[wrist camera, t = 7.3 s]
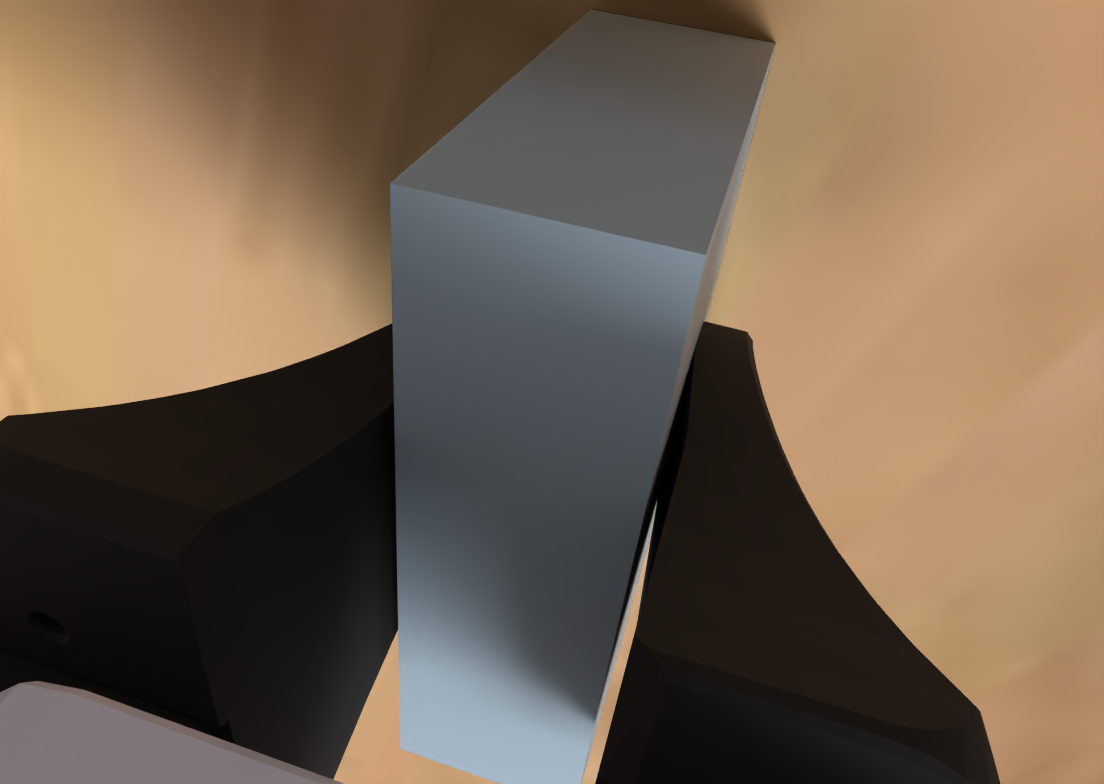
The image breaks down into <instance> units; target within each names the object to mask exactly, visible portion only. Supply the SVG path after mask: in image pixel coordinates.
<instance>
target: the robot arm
mask: <svg viewBox="0 0 1104 784" xmlns="http://www.w3.org/2000/svg"><path fill="white" fill-rule="evenodd" d="M397 630H398V589H397V535H396V482H395V429H394V376H393V323H392V324H390V325H388V326H386V327H383V328H381V329H379V330H377V331H375V332H372V333H370V334H368V335H366V336H364V337H361V338H359V339H357V340H355V341H353V342H350V343H348V344H346V345H344V346H341V347H339V348H336V349H334V350H331V351H329V352H326V353H323V354H321V355H318V356H315V357H313V358H310V359H307V360H304V361H301V362H298V363H295V364H292V365H289V366H286V367H283V368H280V369H277V370H274V371H271V372H267V373H263V374H260V375H256V376H252V377H248V378H244V379H240V380H236V381H233V382H229V383H225V384H221V385H217V386H213V387H210V388H206V389H201V390H197V391H192V392H187V393H182V394H177V395H172V396H166V397H161V398H155V399H149V400H143V401H137V402H131V403H125V404H118V405H110V406H103V407H95V408H85V409H75V410H65V411H56V412H46V413H36V414H25V415H12V416H7V417H5V418H4V419H3V420H1V421H0V784H344V783H341V782H338V781H335V780H333V779H334V777H335V774H336V771H337V769H338V767H339V764H340V762H341V760H342V757H343V755H344V752H345V750H346V748H347V745H348V743H349V740H350V738H351V736H352V733H353V731H354V729H355V726H356V724H357V721H358V719H359V717H360V714H361V712H362V709H363V707H364V705H365V702H366V700H367V698H368V695H369V693H370V691H371V689H372V686H373V684H374V682H375V680H376V677H377V675H378V673H379V671H380V668H381V666H382V664H383V662H384V659H385V657H386V655H387V652H388V650H389V648H390V646H391V643H392V641H393V639H394V637H395V635H396V633H397ZM595 784H1000V781H999V777H998V773H997V769H996V766H995V762H994V758H993V754H992V751H991V747H990V744H989V740H988V737H987V733H986V730H985V726H984V723H983V719H982V716H981V713H980V711H979V709H978V708H977V707H976V706H975V705H974V704H973V703H972V702H971V701H970V700H969V699H968V698H967V697H966V696H965V695H964V694H963V693H962V692H961V691H960V690H959V689H958V688H957V687H956V686H955V685H954V684H953V683H952V682H950V681H949V680H948V679H947V678H946V677H945V676H944V675H943V674H942V673H941V672H940V671H939V670H938V669H937V668H936V667H935V666H934V665H933V664H932V663H931V662H930V661H929V660H928V659H927V658H926V657H925V656H924V655H923V654H922V653H921V652H920V651H919V650H918V649H917V648H916V647H915V646H914V645H913V644H912V643H911V641H910V640H909V639H908V638H907V637H906V636H905V635H904V634H903V633H902V631H901V630H900V629H899V628H898V627H897V626H896V624H895V623H894V622H893V621H892V620H891V619H890V618H889V616H888V615H887V614H886V613H885V612H884V611H883V610H882V608H881V607H880V606H879V605H878V604H877V603H876V601H875V600H874V599H873V598H872V596H871V595H870V594H869V593H868V591H867V590H866V589H865V587H864V586H863V585H862V583H861V582H860V581H859V579H858V578H857V577H856V575H855V574H854V572H853V571H852V570H851V568H850V567H849V566H848V564H847V563H846V562H845V560H844V559H843V558H842V556H841V555H840V553H839V552H838V551H837V549H836V548H835V546H834V545H833V543H832V541H831V540H830V538H829V537H828V535H827V533H826V532H825V530H824V529H823V527H822V526H821V524H820V522H819V520H818V519H817V517H816V515H815V513H814V512H813V510H812V508H811V506H810V505H809V503H808V501H807V499H806V497H805V495H804V494H803V492H802V490H801V488H800V486H799V484H798V482H797V480H796V478H795V476H794V474H793V471H792V469H791V467H790V465H789V462H788V460H787V458H786V456H785V453H784V451H783V449H782V446H781V444H780V441H779V439H778V436H777V434H776V431H775V428H774V425H773V422H772V420H771V417H770V414H769V411H768V408H767V405H766V402H765V399H764V396H763V392H762V389H761V385H760V381H759V377H758V373H757V369H756V364H755V359H754V352H753V341H752V339H751V337H750V336H749V334H748V333H747V332H746V331H742V330H738V329H734V328H729V327H725V326H721V325H717V324H713V323H709V322H705V321H703V324H702V327H701V330H700V333H699V336H698V340H697V343H696V346H695V349H694V354H693V358H692V362H691V366H690V370H689V374H688V378H687V382H686V386H685V390H684V394H683V398H682V402H681V406H680V410H679V414H678V418H677V422H676V426H675V430H674V434H673V438H672V442H671V446H670V450H669V454H668V459H667V463H666V467H665V471H664V475H663V479H662V483H661V487H660V491H659V495H658V499H657V504H656V511H655V517H654V523H653V529H652V535H651V541H650V547H649V554H648V560H647V566H646V572H645V578H644V584H643V591H642V597H641V603H640V609H639V615H638V621H637V626H636V630H635V634H634V638H633V642H632V646H631V649H630V653H629V657H628V661H627V665H626V668H625V672H624V676H623V680H622V684H621V688H620V691H619V695H618V699H617V703H616V707H615V711H614V714H613V718H612V722H611V726H610V730H609V734H608V737H607V741H606V745H605V749H604V753H603V757H602V760H601V764H600V768H599V772H598V776H597V779H596V783H595Z"/></svg>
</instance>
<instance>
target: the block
mask: <svg viewBox="0 0 1104 784" xmlns="http://www.w3.org/2000/svg"><path fill="white" fill-rule="evenodd" d="M775 44H776V43H772V42H767V41H761V40H756V39H750V38H745V37H739V36H734V35H729V34H723V33H718V32H712V31H707V30H701V29H696V28H690V27H685V26H679V25H674V24H668V23H663V22H657V21H652V20H646V19H641V18H635V17H630V16H624V15H619V14H613V13H608V12H602V11H597V10H589V11H588V12H587V13H586V14H585V15H584V16H583V17H581V18H580V19H579V20H578V21H577V22H576V23H574V24H573V25H572V26H571V27H570V28H569V29H567V30H566V31H565V32H564V33H563V34H562V35H561V36H559V37H558V38H557V39H556V40H555V41H554V42H552V43H551V44H550V45H549V46H548V47H547V48H546V49H544V50H543V51H542V52H541V53H540V54H539V55H537V56H536V57H535V58H534V59H533V60H532V61H531V62H529V63H528V64H527V65H526V66H525V67H524V68H522V69H521V70H520V71H519V72H518V73H517V74H515V75H514V76H513V77H512V78H511V79H510V80H509V81H507V82H506V83H505V84H504V85H503V86H502V87H500V88H499V89H498V90H497V91H496V92H495V93H494V94H492V95H491V96H490V97H489V98H488V99H487V100H485V101H484V102H483V103H482V104H481V105H480V106H478V107H477V108H476V109H475V110H474V111H473V112H472V113H470V114H469V115H468V116H467V117H466V118H465V119H463V120H462V121H461V122H460V123H459V124H458V125H457V126H455V127H454V128H453V129H452V130H451V131H450V132H448V133H447V134H446V135H445V136H444V137H443V138H442V139H440V140H439V141H438V142H437V143H436V144H435V145H433V146H432V147H431V148H430V149H429V150H428V151H426V152H425V153H424V154H423V155H422V156H421V157H420V158H418V159H417V160H416V161H415V162H414V163H413V164H411V165H410V166H409V167H408V168H407V169H406V170H405V171H403V172H402V173H401V174H400V175H399V176H398V177H396V178H395V179H394V180H393V181H392V182H391V183H390V216H391V269H392V322H393V376H394V429H395V482H396V535H397V589H398V642H399V695H400V749H402V750H405V751H408V752H411V753H413V754H416V755H419V756H422V757H425V758H428V759H431V760H434V761H436V762H439V763H442V764H445V765H448V766H451V767H454V768H456V769H459V770H462V771H465V772H468V773H471V774H474V775H477V776H479V777H482V778H485V779H488V780H491V781H494V782H497V783H499V784H581V783H582V780H583V776H584V773H585V769H586V766H587V762H588V758H589V755H590V751H591V748H592V744H593V741H594V737H595V734H596V730H597V726H598V723H599V719H600V716H601V712H602V709H603V705H604V701H605V698H606V694H607V691H608V687H609V684H610V680H611V676H612V673H613V669H614V666H615V662H616V659H617V655H618V651H619V648H620V644H621V641H622V637H623V634H624V630H625V626H626V623H627V619H628V616H629V612H630V609H631V605H632V602H633V598H634V594H635V591H636V587H637V584H638V580H639V577H640V573H641V569H642V566H643V562H644V559H645V555H646V552H647V548H648V544H649V541H650V537H651V534H652V529H653V523H654V517H655V511H656V504H657V499H658V495H659V491H660V487H661V483H662V479H663V475H664V471H665V467H666V463H667V459H668V454H669V450H670V446H671V442H672V438H673V434H674V430H675V426H676V422H677V418H678V414H679V410H680V406H681V402H682V398H683V394H684V390H685V386H686V382H687V378H688V374H689V370H690V366H691V362H692V358H693V354H694V349H695V346H696V343H697V340H698V336H699V333H700V330H701V327H702V324H703V321H705V322H706V319H707V315H708V311H709V307H710V303H711V299H712V295H713V291H714V287H715V283H716V279H717V275H718V271H719V267H720V263H721V259H722V255H723V251H724V247H725V243H726V239H727V235H728V231H729V227H730V223H731V219H732V215H733V211H734V207H735V203H736V199H737V195H738V191H739V187H740V183H741V179H742V175H743V171H744V167H745V163H746V159H747V155H748V151H749V147H750V143H751V139H752V135H753V131H754V127H755V123H756V120H757V116H758V112H759V108H760V104H761V100H762V96H763V92H764V88H765V84H766V80H767V76H768V72H769V68H770V64H771V60H772V56H773V52H774V48H775Z"/></svg>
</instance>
